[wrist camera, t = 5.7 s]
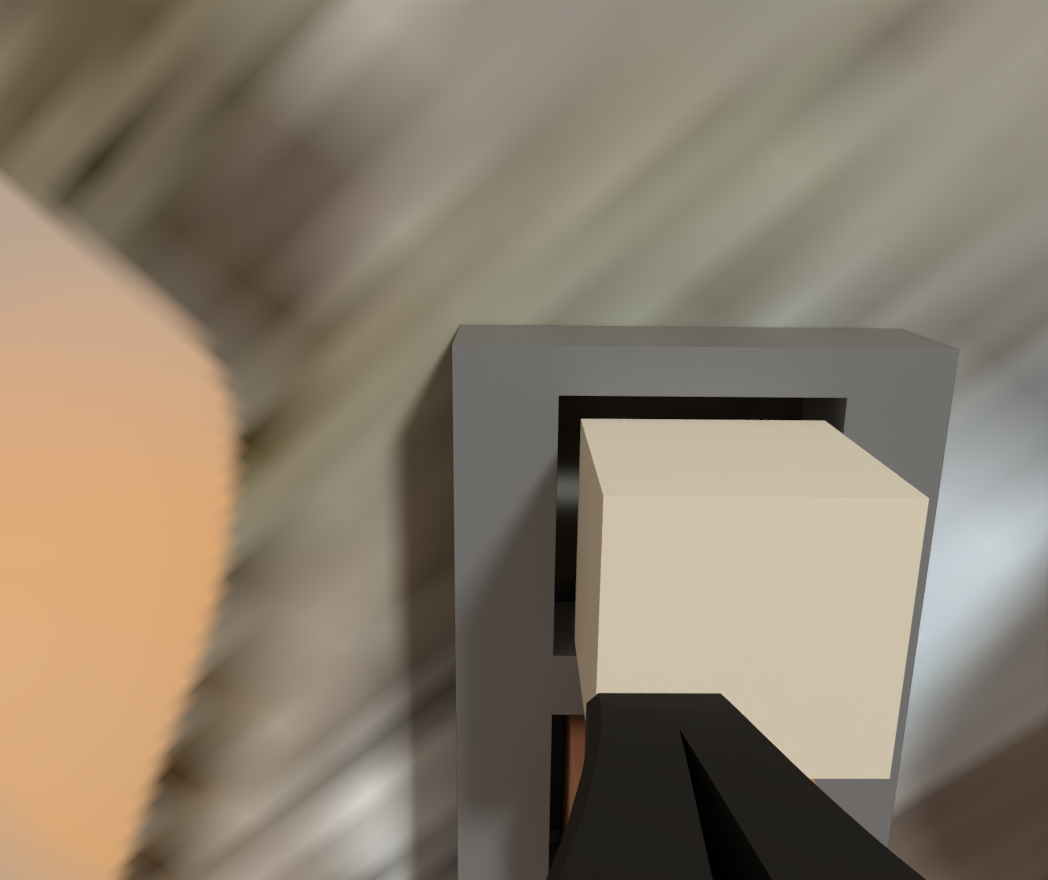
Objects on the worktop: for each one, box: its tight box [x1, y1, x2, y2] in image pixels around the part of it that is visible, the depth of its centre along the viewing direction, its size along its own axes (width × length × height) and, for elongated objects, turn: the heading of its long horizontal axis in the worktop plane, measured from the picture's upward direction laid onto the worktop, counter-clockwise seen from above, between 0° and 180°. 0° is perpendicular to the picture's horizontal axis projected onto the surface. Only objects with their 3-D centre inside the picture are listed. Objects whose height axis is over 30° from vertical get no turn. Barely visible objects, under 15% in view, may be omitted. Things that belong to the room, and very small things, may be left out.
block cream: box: [574, 419, 929, 779], centre depth 15 cm, size 4×4×4 cm
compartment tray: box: [452, 325, 959, 880], centre depth 20 cm, size 20×9×2 cm, turn 179°
